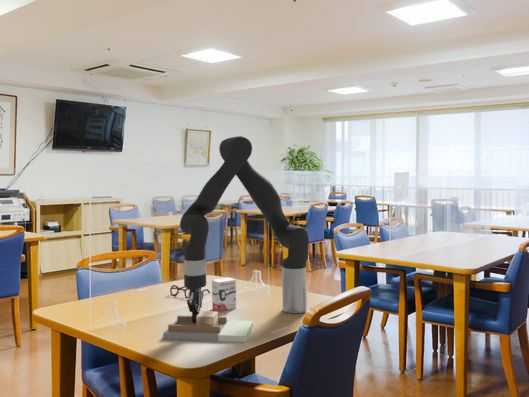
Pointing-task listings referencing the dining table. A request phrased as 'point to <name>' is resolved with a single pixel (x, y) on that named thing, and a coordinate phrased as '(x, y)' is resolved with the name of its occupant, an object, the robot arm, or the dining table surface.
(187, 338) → the channel deck
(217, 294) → the ink box
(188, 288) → the glasses
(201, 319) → the beech block
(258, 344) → the dining table surface
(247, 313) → the dining table surface
